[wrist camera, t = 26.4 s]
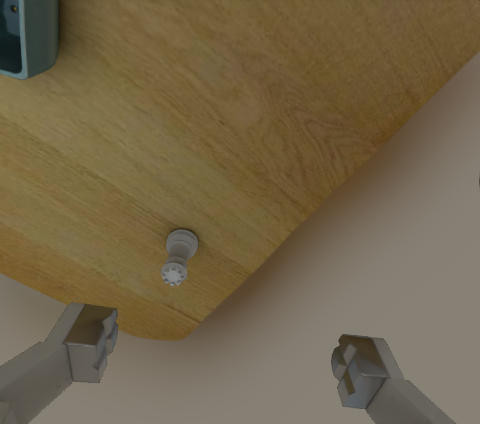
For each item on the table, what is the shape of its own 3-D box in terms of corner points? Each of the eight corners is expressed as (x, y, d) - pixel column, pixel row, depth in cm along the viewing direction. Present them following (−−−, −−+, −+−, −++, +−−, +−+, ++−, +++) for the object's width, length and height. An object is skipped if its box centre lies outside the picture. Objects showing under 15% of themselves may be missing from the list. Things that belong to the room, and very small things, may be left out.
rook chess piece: (193, 256, 46) (185, 296, 39) (164, 248, 45) (150, 286, 38) (202, 232, 44) (195, 269, 37) (171, 223, 43) (158, 259, 36)
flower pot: (-21, -58, 28) (-120, -94, 21) (79, -26, 30) (20, -49, 22) (-10, 47, 33) (-90, 50, 25) (77, 72, 34) (27, 82, 26)
